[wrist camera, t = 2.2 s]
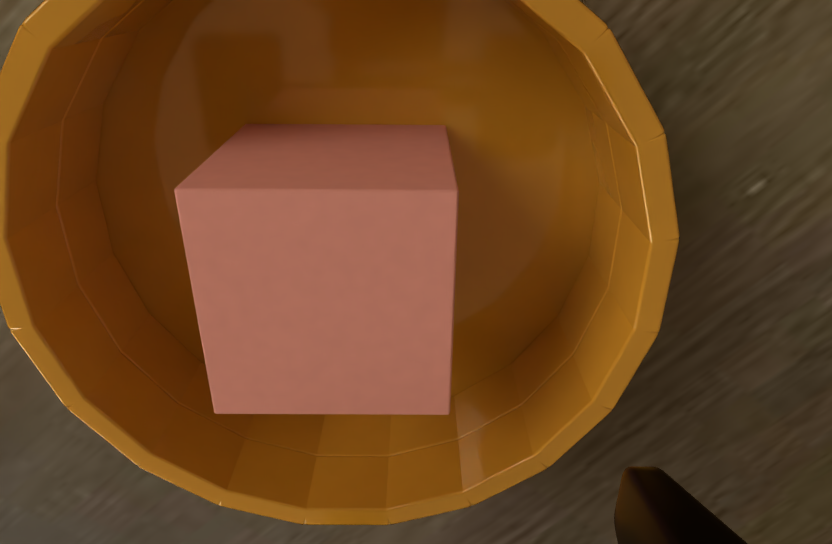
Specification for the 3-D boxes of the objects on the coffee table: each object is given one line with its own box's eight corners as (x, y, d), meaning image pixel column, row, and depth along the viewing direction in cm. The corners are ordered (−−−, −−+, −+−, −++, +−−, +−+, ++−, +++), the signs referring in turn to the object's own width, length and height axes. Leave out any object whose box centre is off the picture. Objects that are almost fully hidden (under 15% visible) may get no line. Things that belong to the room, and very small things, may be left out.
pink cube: (446, 124, 15) (459, 190, 11) (441, 300, 17) (450, 415, 13) (244, 123, 15) (173, 188, 11) (265, 299, 17) (213, 414, 13)
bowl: (656, -87, 14) (757, -111, 10) (576, 414, 20) (617, 527, 16) (20, -92, 14) (-148, -117, 9) (144, 412, 20) (75, 525, 16)
